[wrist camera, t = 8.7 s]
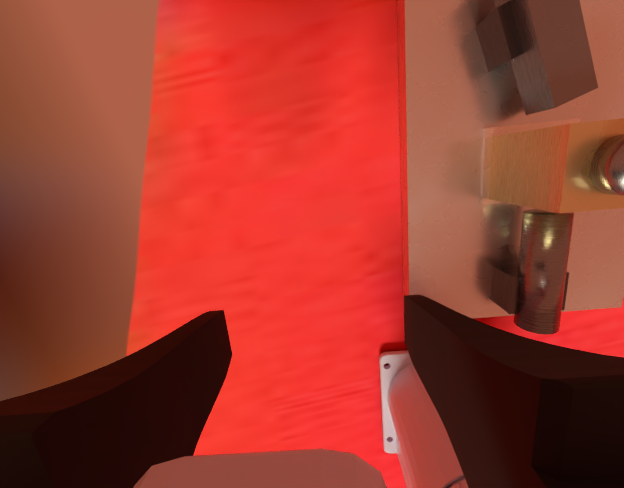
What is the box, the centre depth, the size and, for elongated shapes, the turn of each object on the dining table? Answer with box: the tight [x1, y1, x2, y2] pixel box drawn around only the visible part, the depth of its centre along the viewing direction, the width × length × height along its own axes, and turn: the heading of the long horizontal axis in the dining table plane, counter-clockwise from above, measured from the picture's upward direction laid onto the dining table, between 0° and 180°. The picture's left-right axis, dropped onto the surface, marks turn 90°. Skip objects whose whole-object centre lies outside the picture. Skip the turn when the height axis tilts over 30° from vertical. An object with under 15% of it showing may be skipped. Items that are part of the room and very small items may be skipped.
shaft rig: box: [397, 0, 624, 334], centre depth 17 cm, size 20×14×5 cm
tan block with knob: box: [489, 118, 624, 213], centre depth 14 cm, size 4×4×7 cm
